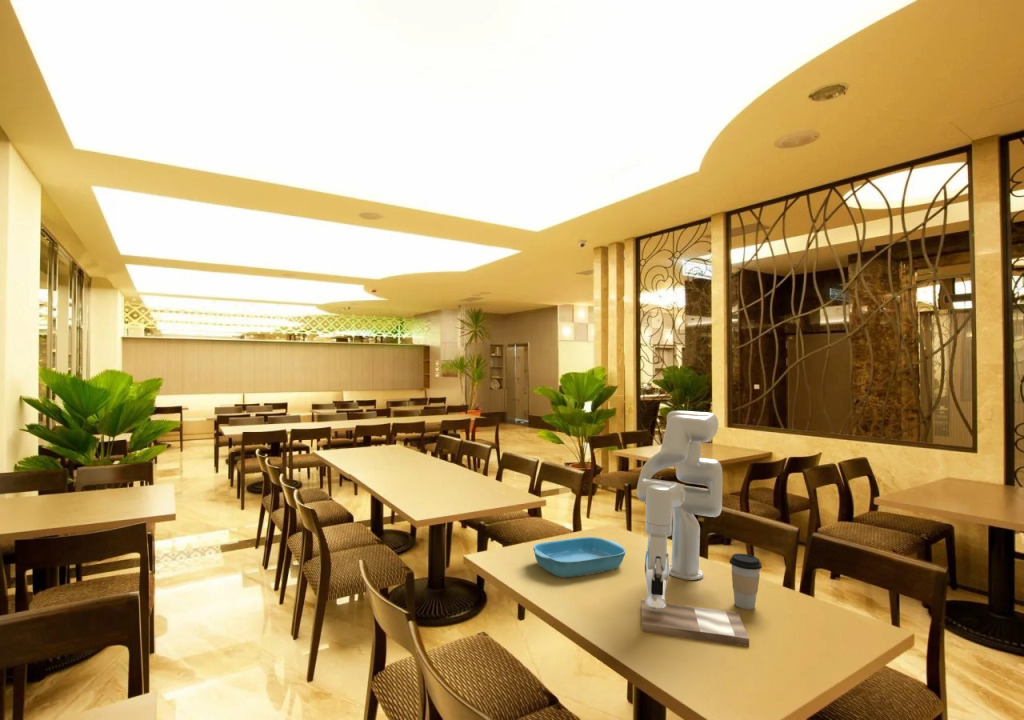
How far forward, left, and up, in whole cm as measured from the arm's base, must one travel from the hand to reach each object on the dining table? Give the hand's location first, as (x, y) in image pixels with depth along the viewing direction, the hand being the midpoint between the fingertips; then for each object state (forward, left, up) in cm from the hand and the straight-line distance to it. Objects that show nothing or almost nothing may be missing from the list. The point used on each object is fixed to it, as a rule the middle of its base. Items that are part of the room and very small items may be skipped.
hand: (656, 588), depth 155 cm
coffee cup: (-19, +28, -9) cm, 35 cm away
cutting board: (0, +10, -9) cm, 13 cm away
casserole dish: (-36, -26, -10) cm, 46 cm away
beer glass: (0, 0, -5) cm, 5 cm away
